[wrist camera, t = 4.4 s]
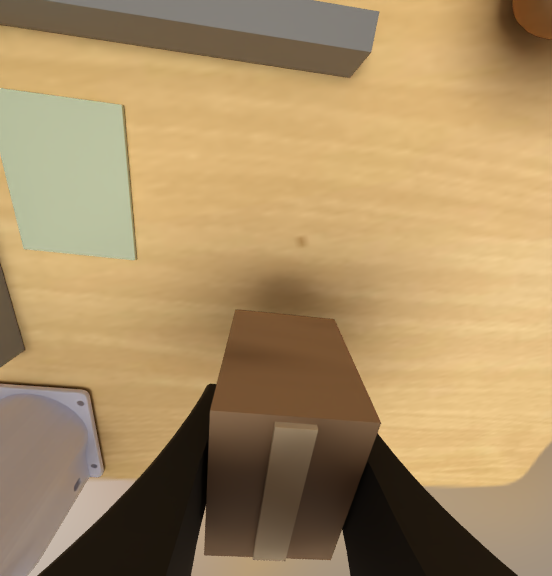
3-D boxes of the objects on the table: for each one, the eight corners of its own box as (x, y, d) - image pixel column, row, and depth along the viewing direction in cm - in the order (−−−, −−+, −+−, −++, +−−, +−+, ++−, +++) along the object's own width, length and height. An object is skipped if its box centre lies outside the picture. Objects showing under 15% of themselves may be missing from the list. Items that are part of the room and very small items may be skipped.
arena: (296, 371, 20) (301, 402, 17) (6, 348, 19) (-39, 378, 16) (355, 46, 13) (379, 11, 10) (-114, -28, 11) (-235, -93, 9)
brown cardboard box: (309, 426, 13) (331, 566, 9) (227, 420, 13) (203, 561, 8) (334, 319, 11) (383, 428, 6) (235, 309, 11) (208, 416, 6)
